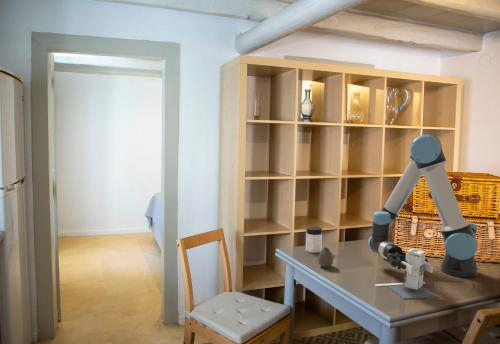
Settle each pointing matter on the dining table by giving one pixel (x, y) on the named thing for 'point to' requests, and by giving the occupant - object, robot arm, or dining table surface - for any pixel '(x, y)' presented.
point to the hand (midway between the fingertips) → (421, 269)
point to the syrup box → (415, 269)
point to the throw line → (392, 284)
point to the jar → (313, 239)
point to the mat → (411, 292)
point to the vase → (325, 258)
